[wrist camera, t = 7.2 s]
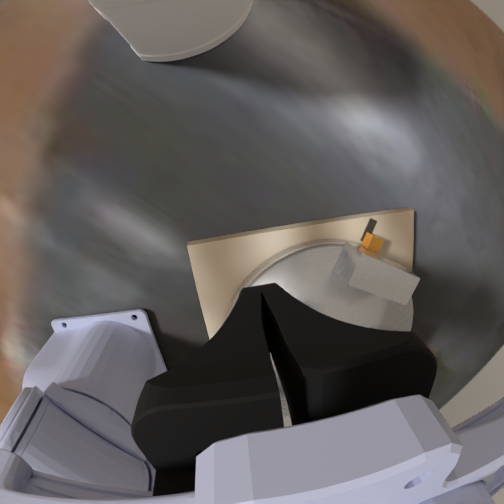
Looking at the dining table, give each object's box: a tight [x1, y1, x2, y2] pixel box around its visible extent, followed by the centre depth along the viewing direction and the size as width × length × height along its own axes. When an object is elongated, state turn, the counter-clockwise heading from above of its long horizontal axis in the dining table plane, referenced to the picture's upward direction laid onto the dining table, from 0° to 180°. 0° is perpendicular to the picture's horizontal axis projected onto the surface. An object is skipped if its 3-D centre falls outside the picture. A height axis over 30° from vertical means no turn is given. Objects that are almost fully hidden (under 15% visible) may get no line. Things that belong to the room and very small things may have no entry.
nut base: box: [187, 207, 414, 339], centre depth 23 cm, size 17×17×1 cm
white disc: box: [224, 232, 420, 427], centre depth 21 cm, size 16×15×4 cm
